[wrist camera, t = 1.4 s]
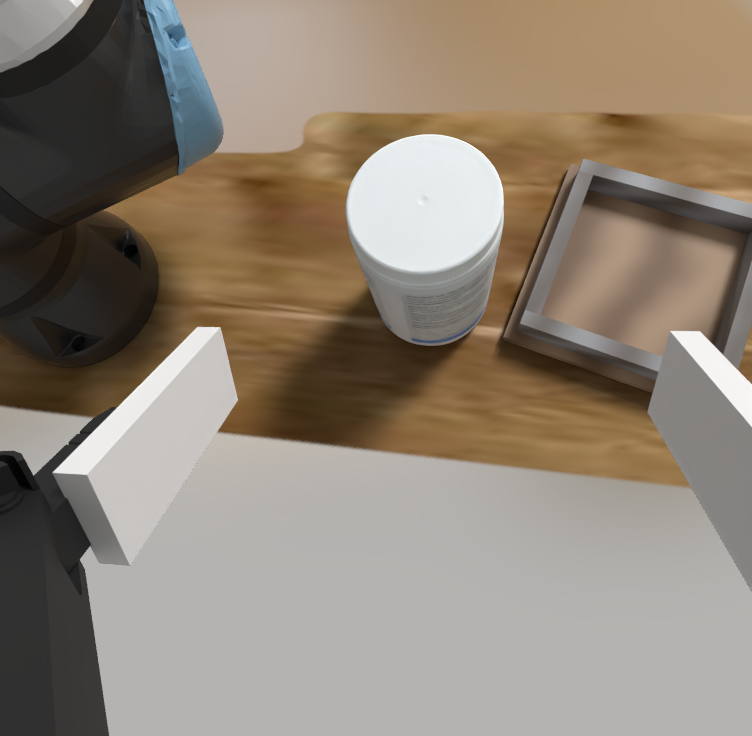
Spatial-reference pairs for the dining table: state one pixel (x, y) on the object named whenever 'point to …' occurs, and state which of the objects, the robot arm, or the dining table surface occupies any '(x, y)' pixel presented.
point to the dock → (635, 274)
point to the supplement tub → (427, 235)
